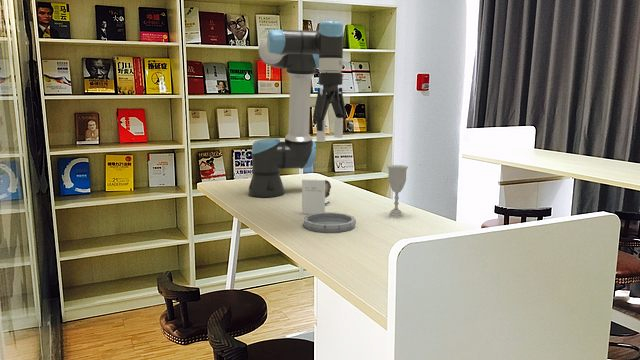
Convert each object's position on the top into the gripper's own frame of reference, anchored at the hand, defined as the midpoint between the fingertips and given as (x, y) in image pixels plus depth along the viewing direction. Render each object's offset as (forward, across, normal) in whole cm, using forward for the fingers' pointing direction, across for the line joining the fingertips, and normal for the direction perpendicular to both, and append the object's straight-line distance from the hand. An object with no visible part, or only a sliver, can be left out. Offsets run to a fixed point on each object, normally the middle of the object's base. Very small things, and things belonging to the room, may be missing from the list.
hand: (330, 139), depth 171 cm
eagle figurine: (+29, +28, +16) cm, 43 cm away
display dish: (+29, 0, 0) cm, 29 cm away
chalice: (+29, +22, -16) cm, 39 cm away
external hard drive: (+29, +12, +12) cm, 33 cm away
